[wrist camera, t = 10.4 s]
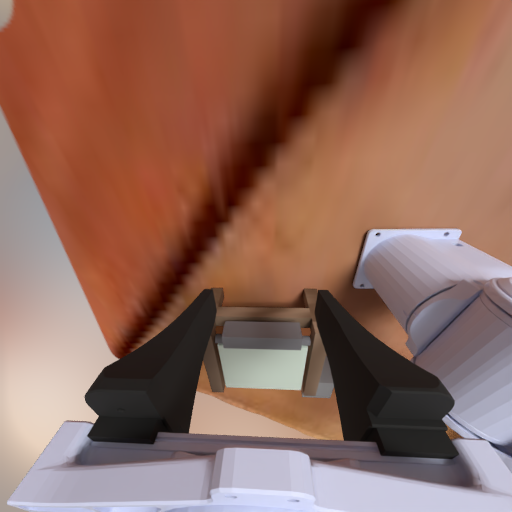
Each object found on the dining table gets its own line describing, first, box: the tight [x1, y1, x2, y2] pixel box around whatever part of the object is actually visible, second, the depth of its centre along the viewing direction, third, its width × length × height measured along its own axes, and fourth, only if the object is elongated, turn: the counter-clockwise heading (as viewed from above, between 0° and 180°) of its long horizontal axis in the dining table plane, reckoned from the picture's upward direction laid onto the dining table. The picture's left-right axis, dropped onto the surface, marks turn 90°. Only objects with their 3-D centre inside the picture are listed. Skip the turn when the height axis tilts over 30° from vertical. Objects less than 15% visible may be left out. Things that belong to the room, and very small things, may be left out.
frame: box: [203, 288, 326, 396], centre depth 27 cm, size 14×13×7 cm
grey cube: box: [301, 356, 334, 398], centre depth 33 cm, size 4×4×4 cm
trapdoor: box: [215, 321, 311, 390], centre depth 23 cm, size 10×12×2 cm
